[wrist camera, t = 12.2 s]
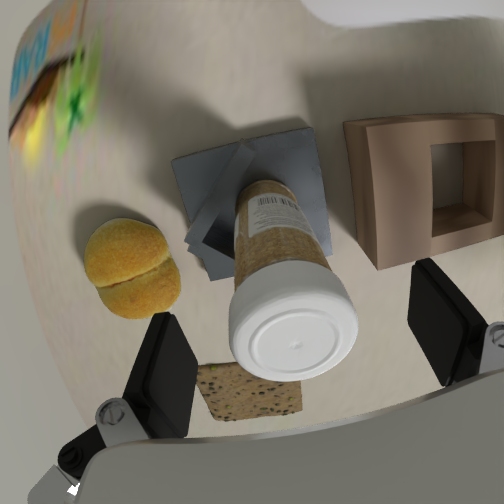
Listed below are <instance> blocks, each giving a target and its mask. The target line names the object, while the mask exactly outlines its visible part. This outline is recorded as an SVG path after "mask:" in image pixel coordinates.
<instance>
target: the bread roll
mask: <svg viewBox="0 0 504 504" xmlns="http://www.w3.org/2000/svg"><path fill="white" fill-rule="evenodd" d="M84 267H85V272H86V275H87V277H88V279H89V280H90V281H91V282H92V283H93V284H94V286H95V287H96V289H97V291H98V293H99V296H100V298H101V300H102V302H103V304H104V305H105V306H106V307H107V308H108V309H109V310H110V311H111V312H113V313H114V314H116V315H118V316H121V317H123V318H127V319H144V318H149V317H153V315H154V314H155V313H160V312H166V311H169V310H171V308H172V307H173V304H174V302H175V301H176V300H177V298H178V296H179V294H180V291H181V282H180V274H179V270H178V268H177V266H176V264H175V262H174V260H173V258H172V256H171V254H170V252H169V248H168V244H167V242H166V240H165V238H164V236H163V234H162V233H161V232H160V230H159V229H157V228H156V227H154V226H152V225H149V224H146V223H143V222H140V221H137V220H134V219H127V218H115V219H112V220H109V221H107V222H105V223H104V224H103V225H101V226H100V227H99V228H98V229H97V230H96V231H95V232H94V233H93V234H92V235H91V237H90V239H89V241H88V243H87V245H86V249H85V253H84Z"/></svg>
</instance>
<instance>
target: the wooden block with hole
mask: <svg viewBox="0 0 504 504" xmlns="http://www.w3.org/2000/svg"><path fill="white" fill-rule="evenodd" d="M343 126H344V132H345V138H346V145H347V151H348V158H349V165H350V172H351V180H352V188H353V197H354V207H355V217H356V228H357V241H358V244H359V246H360V247H361V248H362V250H363V251H364V252H365V254H366V255H367V257H368V258H369V259H370V261H371V262H372V264H373V265H374V266H375V268H376V269H377V271H378V270H382V269H386V268H390V267H394V266H397V265H401V264H405V263H409V262H412V261H416V260H420V259H423V258H427V257H431V256H434V255H438V254H441V253H445V252H448V251H452V250H455V249H459V248H462V247H465V246H469V245H472V244H475V243H479V242H482V241H485V240H488V239H492V238H495V237H498V236H501V235H504V116H503V115H499V114H494V113H438V114H418V115H403V116H391V117H381V118H371V119H362V120H354V121H347V122H343ZM457 142H462V143H463V203H460V204H455V205H451V206H446V207H441V208H437V209H432V206H433V193H432V161H431V146H430V145H436V144H446V143H457Z"/></svg>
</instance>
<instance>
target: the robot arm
mask: <svg viewBox="0 0 504 504" xmlns="http://www.w3.org/2000/svg"><path fill="white" fill-rule="evenodd" d="M407 320H408V325H409V327H410V329H411V330H412V332H413V334H414V336H415V337H416V339H417V341H418V343H419V345H420V346H421V348H422V350H423V352H424V354H425V356H426V357H427V359H428V361H429V363H430V365H431V367H432V369H433V371H434V373H435V374H436V376H437V378H438V380H439V382H440V384H441V386H443V387H444V386H445V388H442V389H440V390H437V391H434V392H432V393H429V394H426V395H423V396H420V397H418V398H415V399H412V400H409V401H406V402H403V403H400V404H396V405H393V406H390V407H387V408H383V409H380V410H376V411H372V412H369V413H365V414H361V415H357V416H353V417H349V418H345V419H341V420H336V421H331V422H327V423H322V424H317V425H311V426H306V427H300V428H294V429H287V430H281V431H273V432H265V433H257V434H247V435H236V436H222V437H203V438H184V437H186V436H187V434H188V429H189V422H190V416H191V409H192V403H193V397H194V391H195V385H196V379H197V373H198V362H197V359H196V357H195V355H194V353H193V351H192V349H191V347H190V345H189V343H188V341H187V339H186V337H185V335H184V333H183V331H182V329H181V327H180V325H179V323H178V321H177V319H176V317H175V315H174V314H170V312H168V311H166V312H160V313H155V314H154V315H153V317H152V319H151V322H150V324H149V327H148V329H147V332H146V334H145V337H144V340H143V342H142V345H141V347H140V350H139V352H138V355H137V357H136V360H135V363H134V366H133V368H132V371H131V374H130V376H129V379H128V382H127V385H126V388H125V390H124V393H123V396H122V398H111V399H109V400H106V401H105V402H104V403H102V404H101V405H100V407H99V408H98V410H97V412H96V416H95V420H96V425H94V426H93V427H91V428H90V429H88V430H87V431H85V432H84V433H82V434H81V435H79V436H78V437H76V438H75V439H73V440H72V441H70V442H69V443H67V444H66V445H65V446H63V447H62V449H61V450H60V452H59V455H58V464H59V465H58V466H55V465H53V466H52V467H51V468H50V469H49V471H48V472H47V473H46V474H45V475H44V476H43V477H42V478H41V480H40V481H39V482H38V483H37V484H36V485H35V486H34V487H33V488H32V489H31V491H30V492H29V495H28V504H504V322H494V323H492V324H490V325H488V324H487V323H486V321H485V319H484V318H483V317H482V316H481V314H480V313H479V312H478V311H477V310H476V308H475V307H474V306H473V305H472V304H471V302H470V301H469V300H468V299H467V298H466V296H465V295H464V294H463V293H462V292H461V291H460V290H459V288H458V287H457V286H456V285H455V284H454V283H453V282H452V281H451V279H450V278H449V277H448V276H447V275H446V274H445V273H444V272H443V271H442V270H441V269H440V267H439V266H438V265H437V264H436V263H435V262H434V261H433V260H432V259H431V258H425V259H421V260H417V261H416V262H415V265H413V266H412V271H411V286H410V298H409V308H408V317H407Z"/></svg>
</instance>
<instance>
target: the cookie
mask: <svg viewBox="0 0 504 504" xmlns="http://www.w3.org/2000/svg"><path fill="white" fill-rule="evenodd" d="M196 384H197V386H198V387H199V389H200V391H201V394H202V396H203V397H204V399H205V401H206V403H207V405H208V407H209V409H210V411H211V414H212V415H213V417H214V419H215V420H218V421H220V420H223V421H231V420H233V421H236V420H243V419H249V418H258V417H263V416H277V415H283V416H284V415H287V414H289V413H292V414H293V413H295V412H298V411H302V394H301V382H300V380H299V381H288V382H281V381H272V380H267V379H264V378H260V377H257V376H255V375H253V374H251V373H250V372H248V371H247V370H245V369H244V368H243V367H242V366H241V365H240V364H239V363H238V362H234V363H225V364H213V365H201V366H198V373H197V379H196Z"/></svg>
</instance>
